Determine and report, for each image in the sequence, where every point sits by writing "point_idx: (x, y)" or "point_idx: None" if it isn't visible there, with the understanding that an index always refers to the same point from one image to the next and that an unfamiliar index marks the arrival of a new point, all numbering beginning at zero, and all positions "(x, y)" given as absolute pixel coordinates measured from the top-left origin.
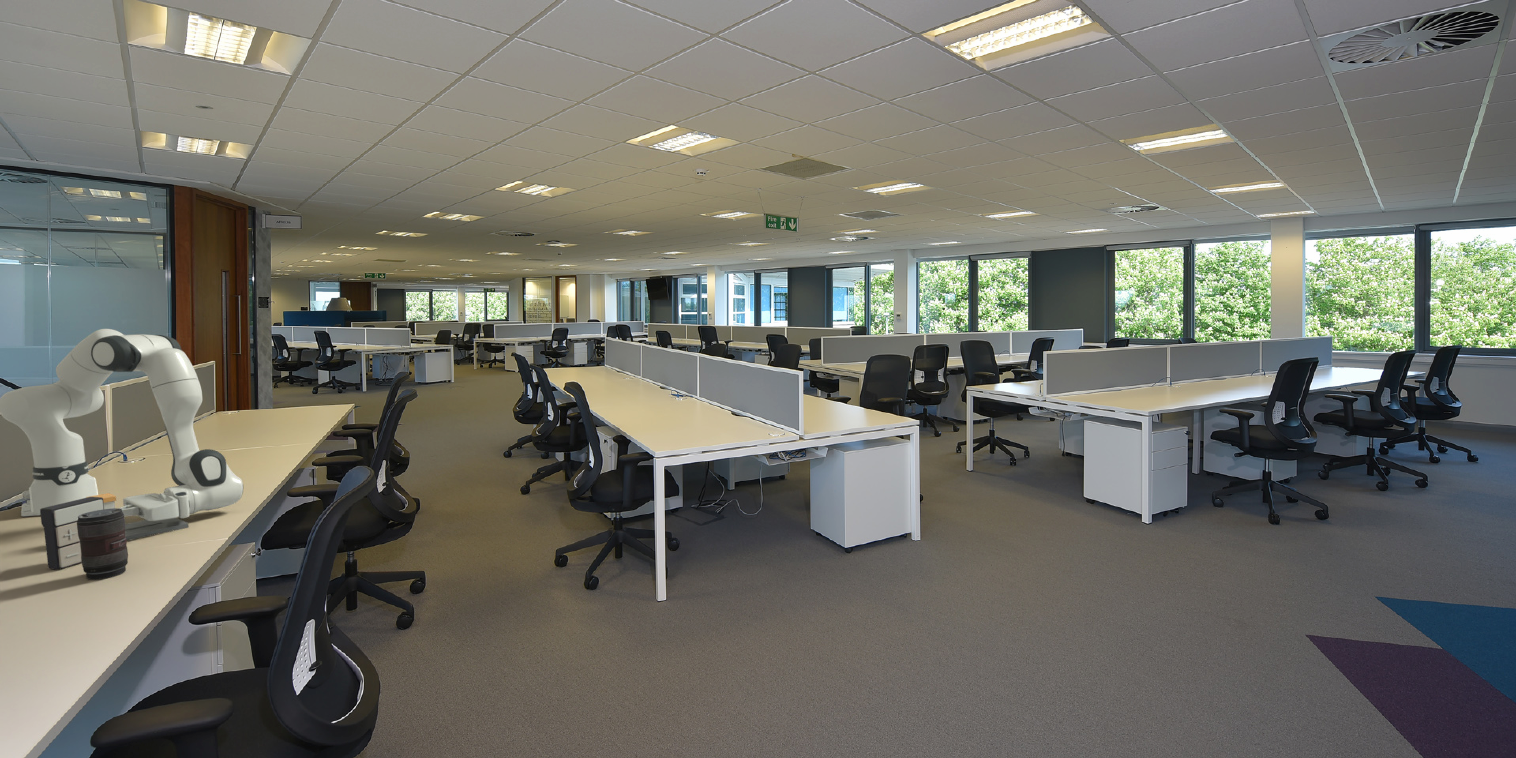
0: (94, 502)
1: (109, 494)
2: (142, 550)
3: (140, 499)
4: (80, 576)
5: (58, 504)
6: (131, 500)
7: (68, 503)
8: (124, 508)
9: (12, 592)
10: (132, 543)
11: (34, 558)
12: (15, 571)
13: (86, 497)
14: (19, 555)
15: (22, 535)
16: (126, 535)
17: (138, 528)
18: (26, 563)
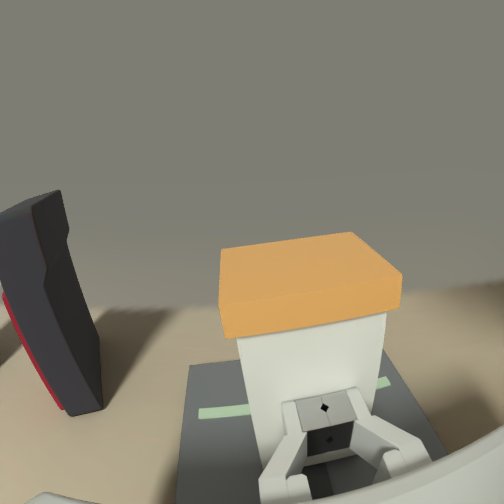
0: None
1: (342, 280)
2: (13, 467)
3: (493, 497)
4: (6, 354)
5: (50, 193)
6: (492, 442)
7: (30, 200)
8: (379, 444)
9: None
10: (118, 495)
11: None
12: (151, 311)
13: (344, 234)
14: None
15: (482, 291)
16: (193, 494)
17: None
18: (194, 320)
